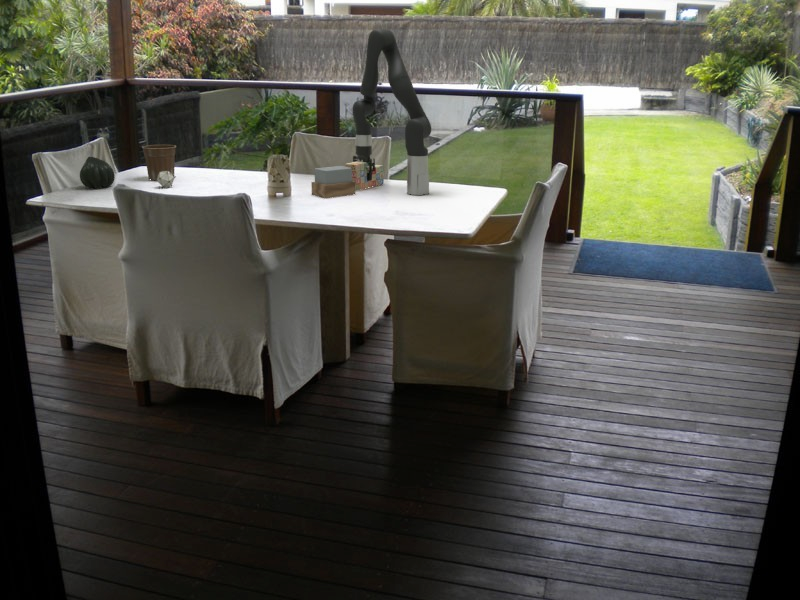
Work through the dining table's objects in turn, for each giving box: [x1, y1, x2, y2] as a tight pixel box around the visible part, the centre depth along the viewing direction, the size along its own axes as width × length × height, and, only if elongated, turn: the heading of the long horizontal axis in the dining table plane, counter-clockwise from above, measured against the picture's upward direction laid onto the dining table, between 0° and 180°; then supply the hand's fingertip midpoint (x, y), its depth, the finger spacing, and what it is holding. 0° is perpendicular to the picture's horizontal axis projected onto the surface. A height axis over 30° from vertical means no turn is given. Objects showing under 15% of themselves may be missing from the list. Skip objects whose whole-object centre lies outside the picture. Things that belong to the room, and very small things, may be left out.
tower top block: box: [314, 165, 352, 185], centre depth 377 cm, size 9×14×6 cm, turn 127°
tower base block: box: [311, 181, 356, 199], centre depth 378 cm, size 11×16×6 cm
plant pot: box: [141, 144, 177, 181], centre depth 415 cm, size 16×16×16 cm
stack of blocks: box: [345, 161, 385, 191], centre depth 396 cm, size 21×6×12 cm, turn 145°
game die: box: [154, 170, 177, 189], centre depth 394 cm, size 9×8×10 cm
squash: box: [79, 156, 116, 190], centre depth 393 cm, size 14×15×15 cm
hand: (363, 179), depth 397 cm, fingers open, 8 cm apart
